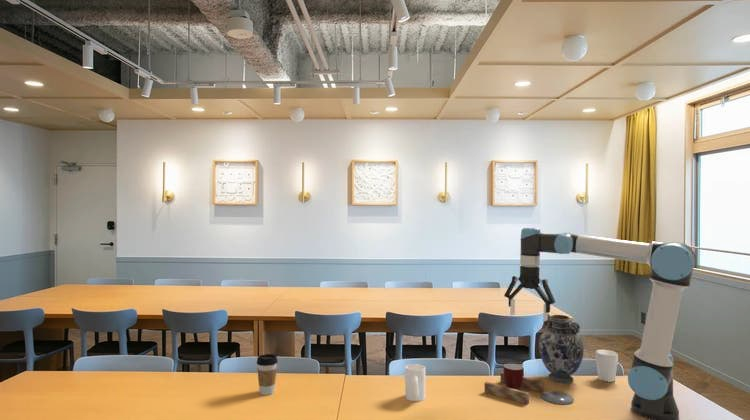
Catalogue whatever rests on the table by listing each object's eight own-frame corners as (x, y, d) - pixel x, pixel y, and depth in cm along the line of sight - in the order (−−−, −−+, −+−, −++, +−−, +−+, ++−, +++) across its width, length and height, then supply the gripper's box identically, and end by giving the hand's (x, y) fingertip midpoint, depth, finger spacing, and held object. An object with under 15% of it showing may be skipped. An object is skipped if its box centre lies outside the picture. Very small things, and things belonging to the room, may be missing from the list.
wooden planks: (543, 391, 188) (543, 381, 188) (527, 404, 174) (527, 394, 174) (502, 380, 199) (502, 371, 199) (484, 392, 186) (484, 382, 186)
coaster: (577, 397, 181) (577, 396, 181) (568, 407, 172) (568, 406, 172) (547, 390, 189) (547, 388, 189) (537, 398, 180) (537, 397, 180)
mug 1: (403, 405, 173) (404, 373, 173) (405, 392, 185) (405, 363, 185) (425, 406, 172) (425, 374, 172) (425, 393, 184) (425, 364, 184)
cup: (597, 381, 199) (597, 354, 199) (593, 374, 207) (593, 348, 207) (620, 384, 196) (620, 356, 196) (615, 377, 205) (615, 350, 205)
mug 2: (526, 397, 181) (526, 372, 181) (505, 396, 182) (505, 371, 182) (521, 387, 191) (521, 364, 192) (502, 386, 193) (502, 363, 193)
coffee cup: (251, 394, 183) (252, 357, 183) (266, 387, 190) (266, 351, 190) (267, 398, 179) (268, 360, 179) (281, 390, 186) (281, 354, 186)
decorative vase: (596, 384, 195) (595, 319, 196) (563, 390, 189) (562, 323, 189) (559, 368, 215) (558, 310, 215) (528, 374, 208) (527, 313, 209)
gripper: (564, 268, 179) (563, 321, 179) (504, 262, 195) (503, 311, 195) (558, 269, 173) (556, 324, 173) (497, 263, 189) (495, 314, 189)
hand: (528, 317), depth 184 cm, fingers open, 13 cm apart
